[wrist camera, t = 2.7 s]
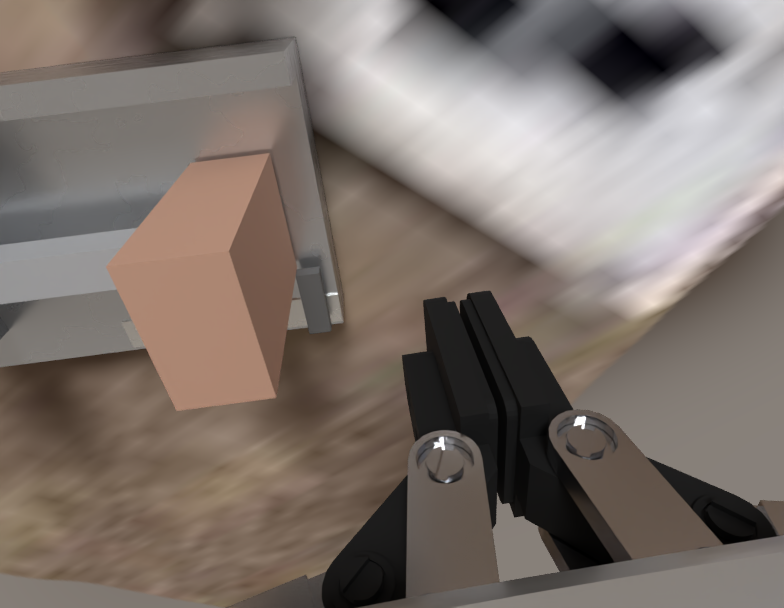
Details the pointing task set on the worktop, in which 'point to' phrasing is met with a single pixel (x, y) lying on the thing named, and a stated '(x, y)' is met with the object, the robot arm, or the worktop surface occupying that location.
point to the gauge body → (146, 169)
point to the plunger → (191, 281)
